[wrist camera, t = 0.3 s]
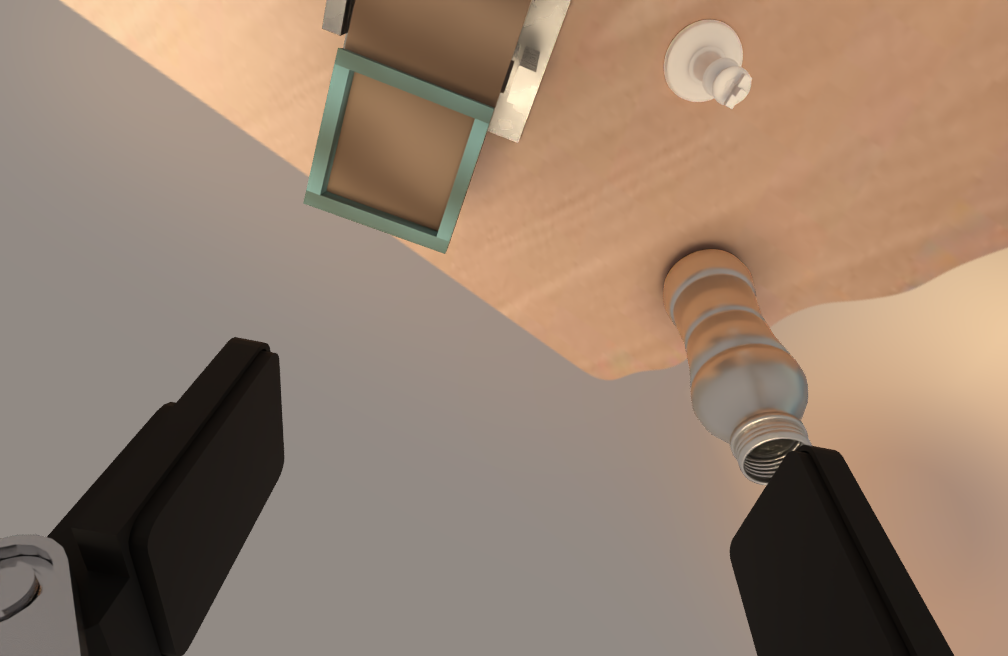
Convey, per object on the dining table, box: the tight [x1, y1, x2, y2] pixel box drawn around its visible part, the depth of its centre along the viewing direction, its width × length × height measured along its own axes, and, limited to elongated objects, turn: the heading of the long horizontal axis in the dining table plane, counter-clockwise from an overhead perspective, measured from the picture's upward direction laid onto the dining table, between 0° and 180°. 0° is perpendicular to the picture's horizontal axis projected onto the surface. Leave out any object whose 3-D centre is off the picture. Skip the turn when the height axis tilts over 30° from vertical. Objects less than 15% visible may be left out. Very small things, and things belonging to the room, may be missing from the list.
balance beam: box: [304, 0, 532, 254], centre depth 31 cm, size 21×9×4 cm, turn 160°
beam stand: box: [322, 0, 571, 143], centre depth 35 cm, size 10×13×8 cm
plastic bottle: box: [663, 249, 812, 485], centre depth 38 cm, size 6×7×20 cm
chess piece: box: [664, 20, 752, 109], centre depth 34 cm, size 5×5×10 cm
